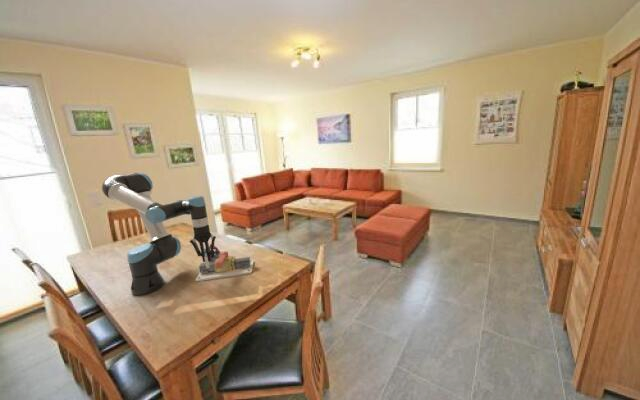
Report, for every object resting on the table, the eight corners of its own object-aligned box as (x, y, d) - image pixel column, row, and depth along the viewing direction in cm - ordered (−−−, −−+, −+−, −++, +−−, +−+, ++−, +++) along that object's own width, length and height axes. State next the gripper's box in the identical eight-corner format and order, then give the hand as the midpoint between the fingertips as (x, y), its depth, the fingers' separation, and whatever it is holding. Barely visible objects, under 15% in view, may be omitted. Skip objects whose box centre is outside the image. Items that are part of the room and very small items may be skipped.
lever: (221, 255, 148) (220, 251, 148) (229, 254, 149) (228, 250, 148) (214, 268, 131) (213, 264, 131) (223, 267, 132) (222, 263, 132)
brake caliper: (217, 259, 156) (204, 246, 156) (208, 270, 159) (194, 257, 159) (227, 252, 167) (214, 239, 166) (218, 261, 170) (205, 249, 170)
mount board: (195, 281, 138) (195, 279, 138) (203, 268, 153) (203, 266, 153) (251, 273, 143) (251, 271, 143) (253, 261, 158) (253, 259, 158)
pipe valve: (200, 277, 143) (197, 263, 141) (203, 271, 149) (201, 258, 148) (250, 270, 147) (248, 256, 145) (251, 265, 154) (249, 252, 152)
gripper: (185, 229, 126) (193, 272, 131) (213, 225, 129) (220, 267, 134) (189, 225, 133) (196, 266, 138) (215, 221, 137) (221, 261, 141)
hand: (208, 266), depth 136 cm, fingers closed
